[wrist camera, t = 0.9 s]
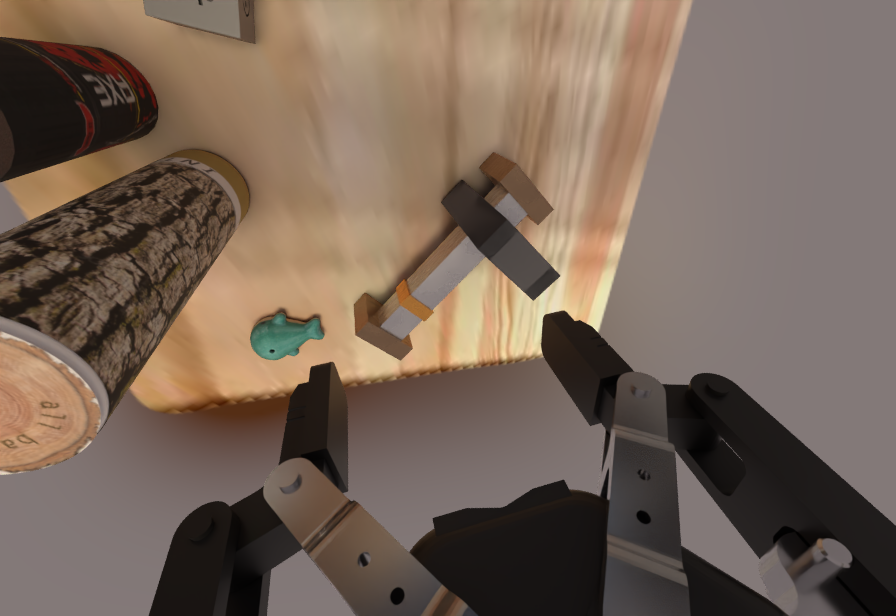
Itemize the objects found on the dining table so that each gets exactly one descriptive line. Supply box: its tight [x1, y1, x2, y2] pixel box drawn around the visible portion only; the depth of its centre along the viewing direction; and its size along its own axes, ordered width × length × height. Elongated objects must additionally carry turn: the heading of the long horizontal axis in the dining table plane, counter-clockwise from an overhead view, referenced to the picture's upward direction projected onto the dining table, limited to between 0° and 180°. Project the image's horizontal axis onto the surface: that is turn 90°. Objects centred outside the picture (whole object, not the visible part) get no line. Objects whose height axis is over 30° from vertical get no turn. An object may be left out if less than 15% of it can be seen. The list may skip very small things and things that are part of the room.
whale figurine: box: [250, 312, 325, 360], centre depth 39 cm, size 6×7×4 cm
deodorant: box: [0, 37, 158, 182], centre depth 20 cm, size 6×6×15 cm
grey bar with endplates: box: [354, 152, 554, 361], centre depth 37 cm, size 22×6×6 cm, turn 135°
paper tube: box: [0, 150, 249, 475], centre depth 21 cm, size 7×7×25 cm
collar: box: [441, 180, 560, 301], centre depth 33 cm, size 3×7×12 cm, turn 45°
